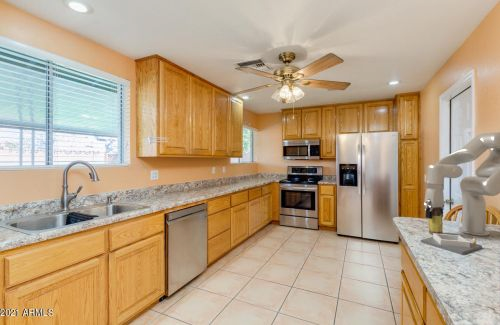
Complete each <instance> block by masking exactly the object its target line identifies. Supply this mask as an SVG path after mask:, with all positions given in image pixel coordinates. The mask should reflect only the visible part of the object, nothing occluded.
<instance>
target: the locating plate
mask: <svg viewBox="0 0 500 325" xmlns="http://www.w3.org/2000/svg"><path fill="white" fill-rule="evenodd" d="M420 243H422V244H426V245H429V246H432V247H436V248H438V249H443V250H445V251H449V252H452V253H456V254H459V255H465V254H468V253H472V252H475V251H478V250H480V249H481V250H482V249H483V245H482V244H477V238H474V237H473V238H472V242H470V241H468V239H466V238H464V237H463V236H462V235H457V234H447V233H446V234H445V233H442V234H436V233H433V234H432V236H430V237H427V238H423V239H421V240H420Z"/></svg>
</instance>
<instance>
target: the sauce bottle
mask: <svg viewBox="0 0 500 325" xmlns="http://www.w3.org/2000/svg"><path fill="white" fill-rule="evenodd" d="M432 212H433V218H432V219H430V218H427V220H428V221H427V223H428V227H427V229H428V233H429V234H430V235H433V233H436V234H443V228H444V227H443V225H444V224H443V217H442V212H441V209H440V207H437V208H433V210H432Z"/></svg>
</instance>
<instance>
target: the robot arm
mask: <svg viewBox="0 0 500 325" xmlns="http://www.w3.org/2000/svg"><path fill="white" fill-rule="evenodd" d="M487 150H489V154H488V156H487V158H486V159H484V161H482V163H481V164H480V165H479V166H478V167H477V168H476V170H475V176H471V175H470V176H466V177H463V178H462V179H461V181H460V182H459V188H460V191H461V195H462V196H461V197H462V200H461V202H462V203H461V204H462V207H461V208H462V209H461V213H462V214H461V216H462V217H461V222H462V224H461V227H458V231H459V232H461V233H463V234H467V235H470V236H479V237H487V236H488V237H489V236H490V232H489V231H488V230H486V229H487V228H488V225H487V224H486V221H487V220H486V218H487V217H486V215H487V214H486V211H487V210H486V208H487V207H486V206H487V204H486V203H487V202H486V199H485V197H484V196H487V197H494V196H498V195H499V194H500V131H497V132H495V131H494V132H488V133H481V134H477V135H476V136H475V137H473V138H472V139H471V140H469V141H468V142H467V143H466V144H465V145H464V146H463V147H462V148H460V149H459V150H456V151H454V152H452V153H450V154H448V155H446V156H444V157H442V158H441V159H440V160H438V162H436V163H435V164H429V165H428V166H426V190H425V196H424V203H423V205H424V210H425V218H427V219H428V218H430V219H432V218H433V212H432V210H433V208H437V207H440V209H441V212H442V218H443V217H444V209H445V208H444V207H445V204H446V201H445V200H444V199H445V196H444V190H445V179H457V178H459V177H461V176H462V175H463V168H462V167H461V166H459V165H461V164H465V163H470V162H473V161H475V160H477V159H478V158H479V157H481V155H483V154H484V153H485V152H486V151H487Z"/></svg>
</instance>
